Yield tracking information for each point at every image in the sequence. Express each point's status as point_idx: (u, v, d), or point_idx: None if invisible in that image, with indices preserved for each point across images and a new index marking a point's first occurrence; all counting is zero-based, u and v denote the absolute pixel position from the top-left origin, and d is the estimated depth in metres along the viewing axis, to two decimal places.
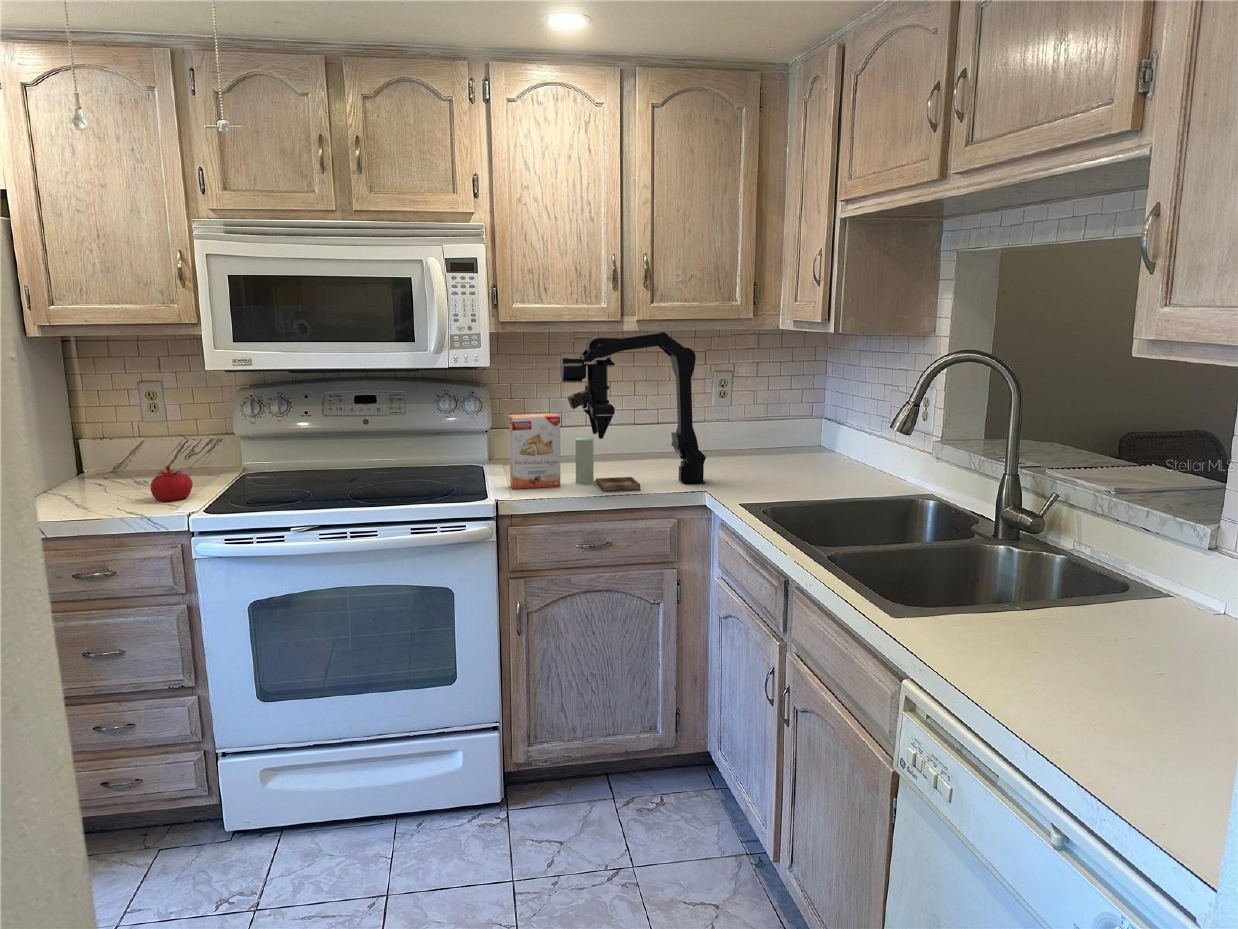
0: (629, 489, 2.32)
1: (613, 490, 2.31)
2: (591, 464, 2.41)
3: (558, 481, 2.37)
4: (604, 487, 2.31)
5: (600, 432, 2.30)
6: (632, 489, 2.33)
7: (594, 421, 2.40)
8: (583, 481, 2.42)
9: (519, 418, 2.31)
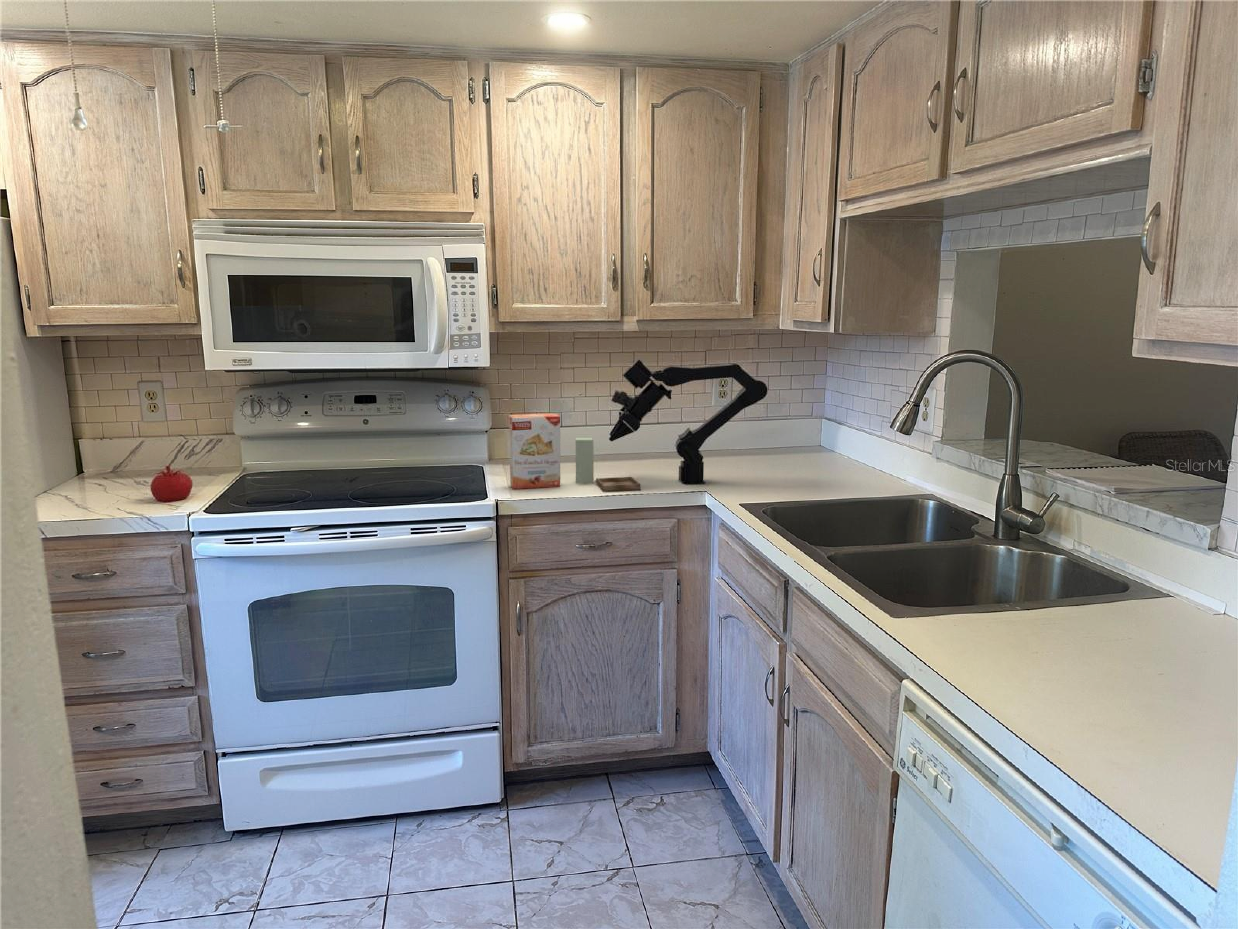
0: (629, 489, 2.32)
1: (613, 490, 2.31)
2: (591, 464, 2.41)
3: (558, 481, 2.37)
4: (604, 487, 2.31)
5: (613, 435, 2.36)
6: (632, 489, 2.33)
7: None
8: (583, 481, 2.42)
9: (519, 418, 2.31)
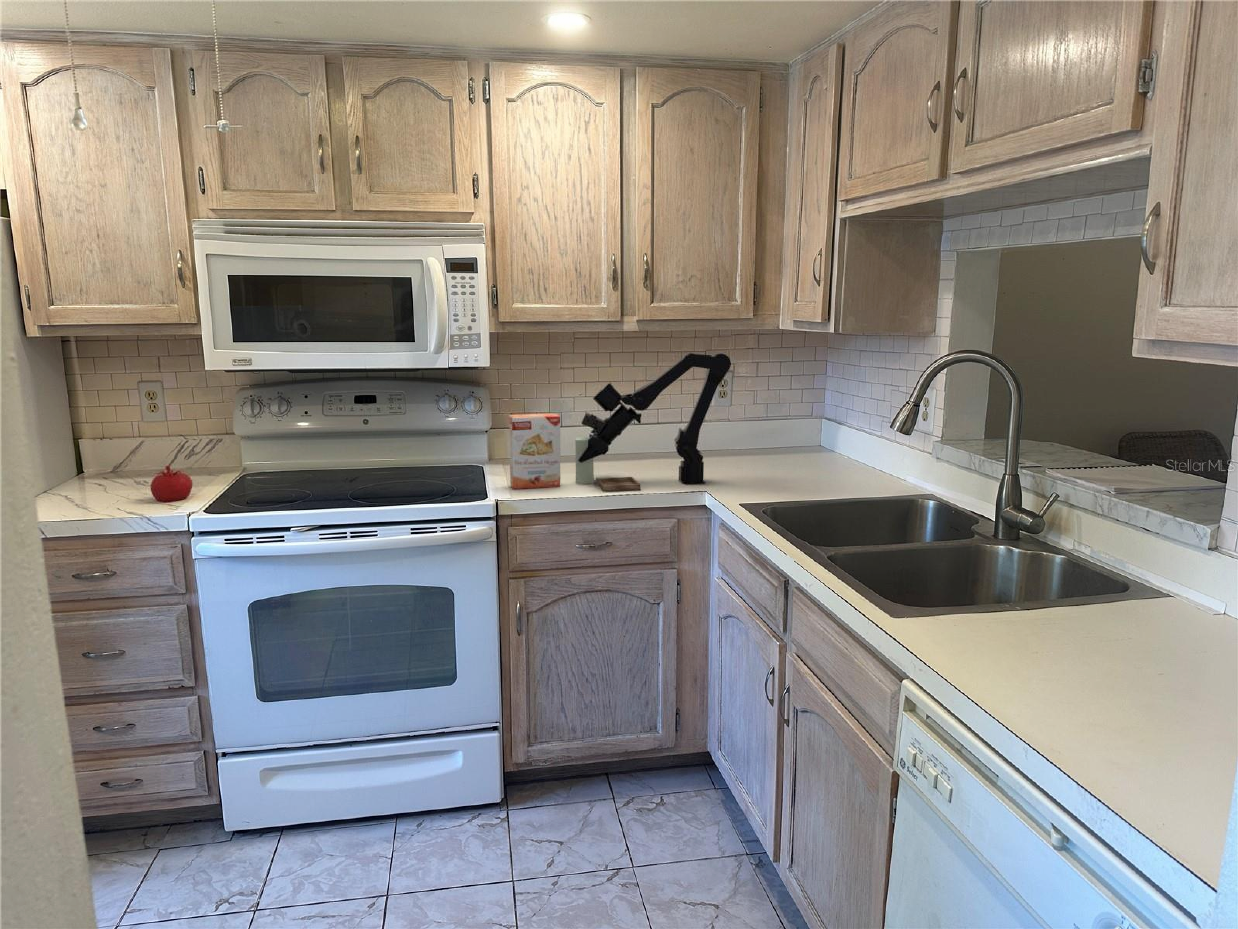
0: (629, 489, 2.32)
1: (613, 490, 2.31)
2: (591, 464, 2.41)
3: (558, 481, 2.37)
4: (604, 487, 2.31)
5: (583, 457, 2.40)
6: (632, 489, 2.33)
7: None
8: (583, 481, 2.42)
9: (519, 418, 2.31)
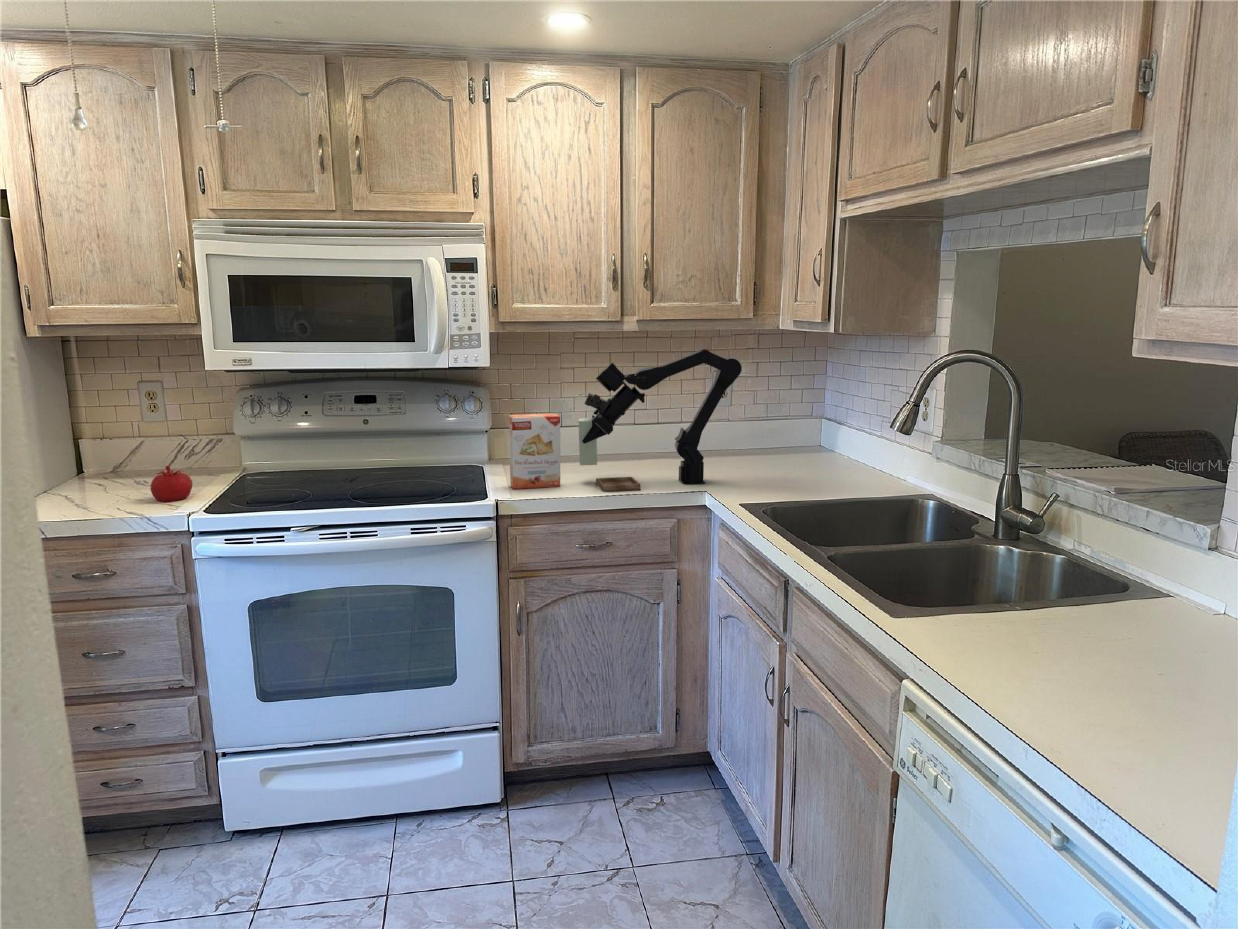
0: (629, 489, 2.32)
1: (613, 490, 2.31)
2: (595, 445, 2.39)
3: (558, 481, 2.37)
4: (604, 487, 2.31)
5: (587, 437, 2.38)
6: (632, 489, 2.33)
7: None
8: (587, 462, 2.40)
9: (519, 418, 2.31)
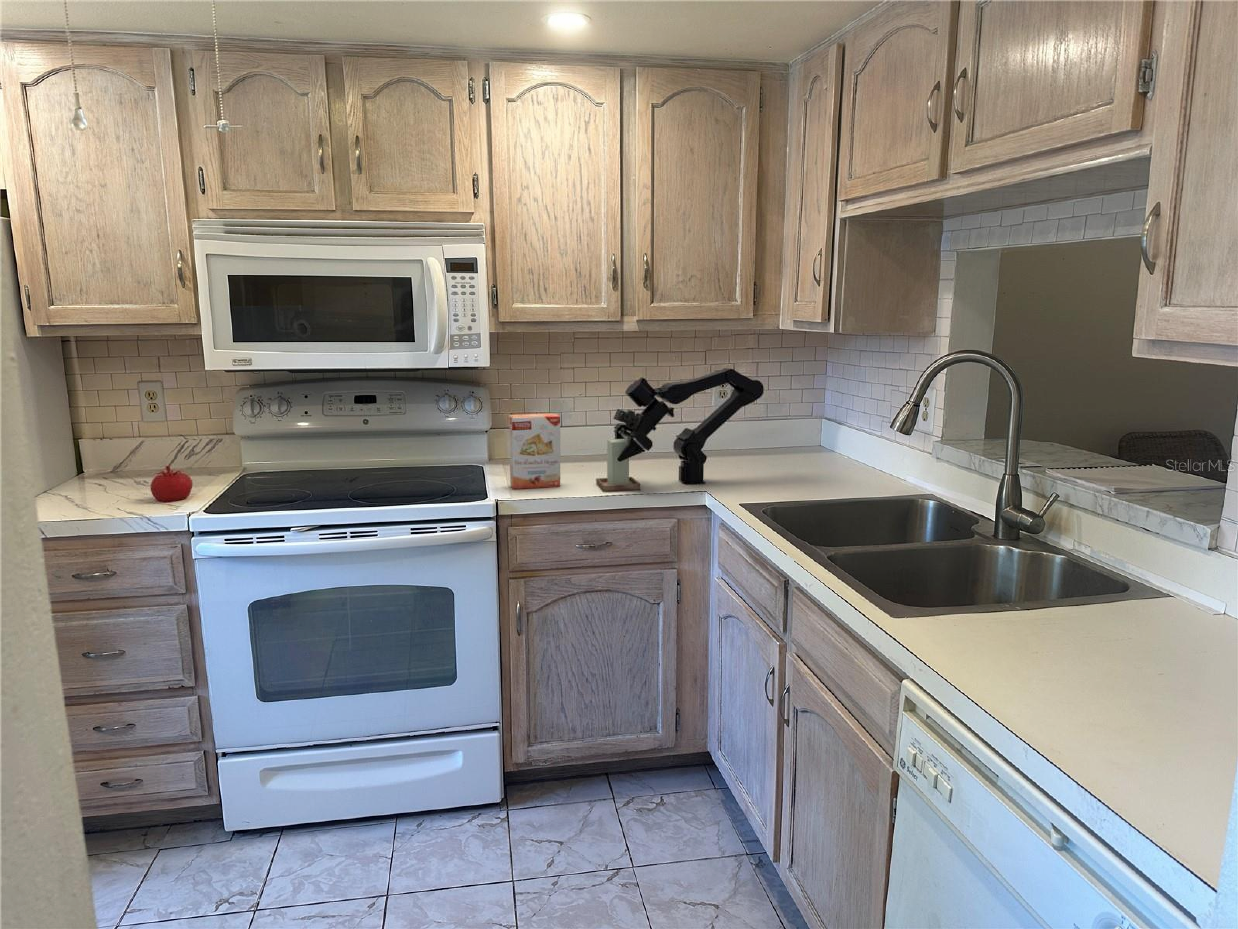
0: (629, 489, 2.32)
1: (613, 490, 2.31)
2: (627, 466, 2.34)
3: (558, 481, 2.37)
4: (604, 487, 2.31)
5: (623, 455, 2.30)
6: (632, 489, 2.33)
7: None
8: (619, 484, 2.35)
9: (519, 418, 2.31)
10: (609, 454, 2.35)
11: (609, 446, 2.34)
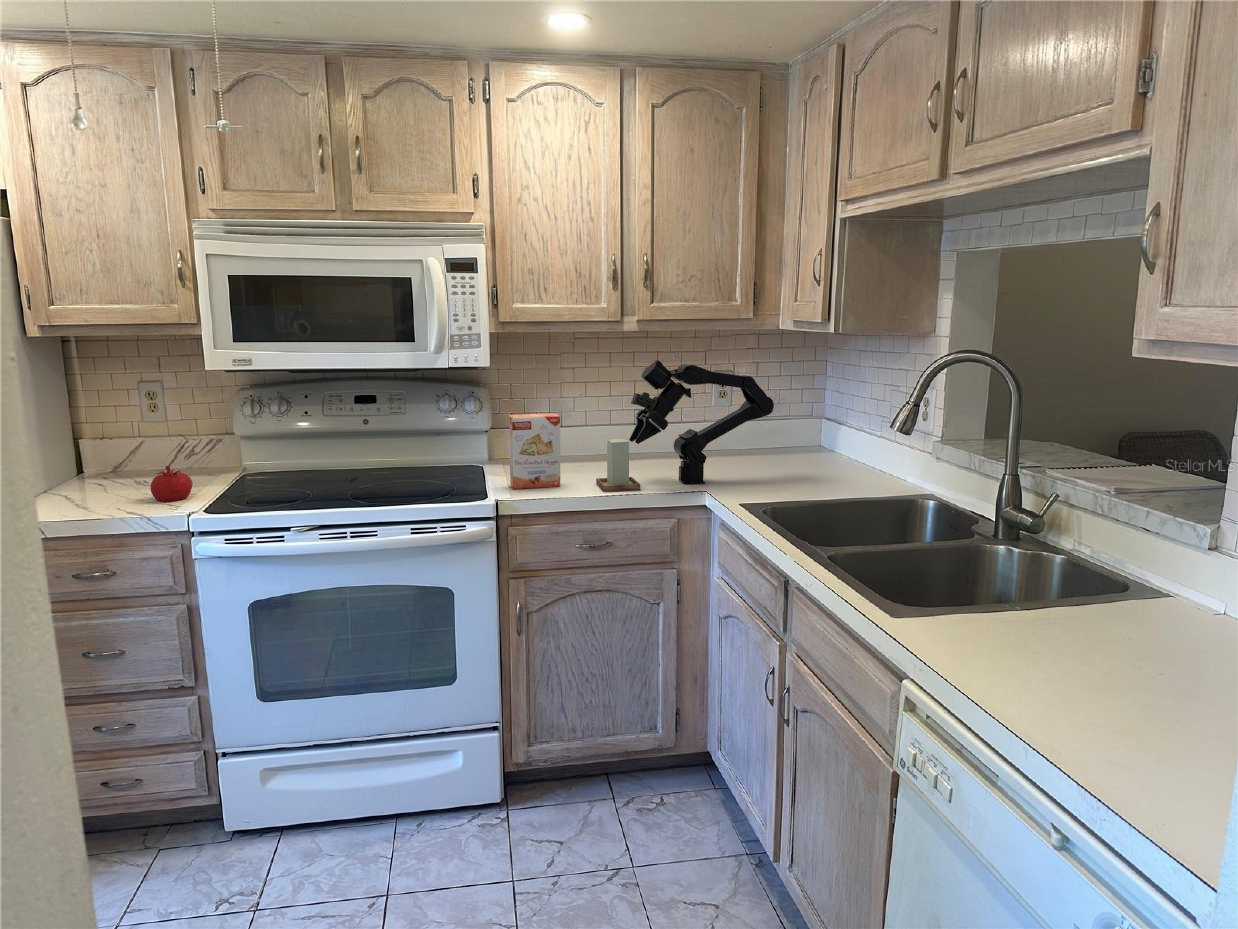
0: (629, 489, 2.32)
1: (613, 490, 2.31)
2: (627, 466, 2.34)
3: (558, 481, 2.37)
4: (604, 487, 2.31)
5: (640, 437, 2.32)
6: (632, 489, 2.33)
7: (638, 431, 2.42)
8: (619, 484, 2.35)
9: (519, 418, 2.31)
10: (609, 454, 2.35)
11: (609, 446, 2.34)
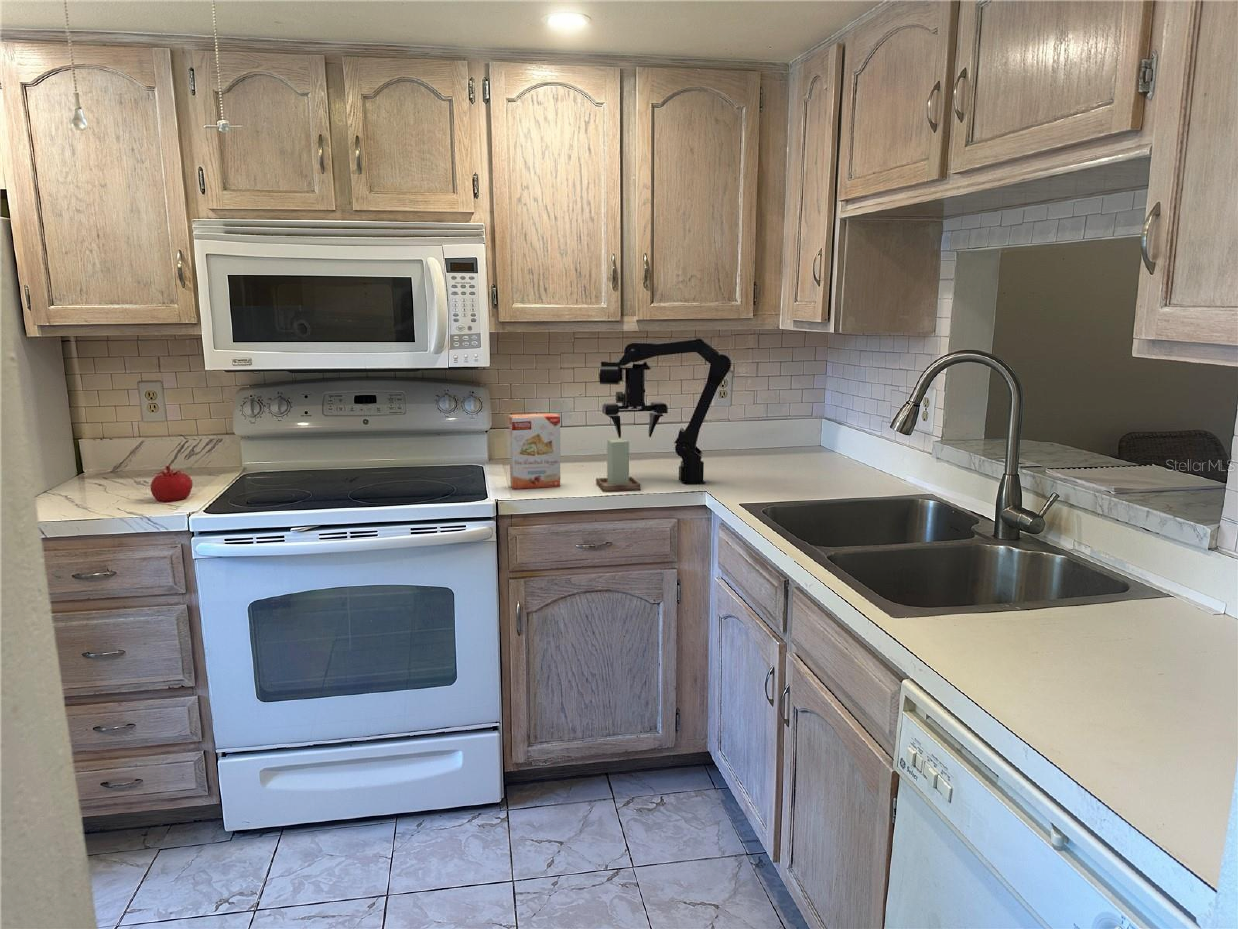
0: (629, 489, 2.32)
1: (613, 490, 2.31)
2: (627, 466, 2.34)
3: (558, 481, 2.37)
4: (604, 487, 2.31)
5: (617, 431, 2.43)
6: (632, 489, 2.33)
7: (650, 424, 2.45)
8: (619, 484, 2.35)
9: (519, 418, 2.31)
10: (609, 454, 2.35)
11: (609, 446, 2.34)
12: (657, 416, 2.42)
